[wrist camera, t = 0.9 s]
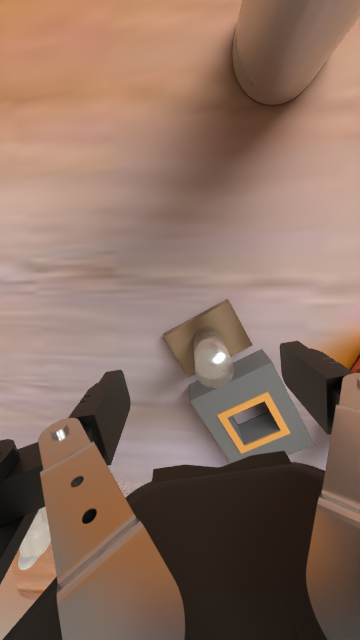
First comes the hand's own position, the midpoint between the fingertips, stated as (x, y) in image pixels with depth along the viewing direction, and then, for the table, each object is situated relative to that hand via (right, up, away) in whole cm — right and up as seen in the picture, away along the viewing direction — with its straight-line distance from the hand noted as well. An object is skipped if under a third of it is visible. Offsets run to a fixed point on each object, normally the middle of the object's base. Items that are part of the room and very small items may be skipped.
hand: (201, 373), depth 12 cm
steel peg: (+3, 0, +20) cm, 20 cm away
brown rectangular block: (+3, 0, +21) cm, 21 cm away
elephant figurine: (-26, -33, +32) cm, 53 cm away
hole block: (+9, -11, +24) cm, 28 cm away
